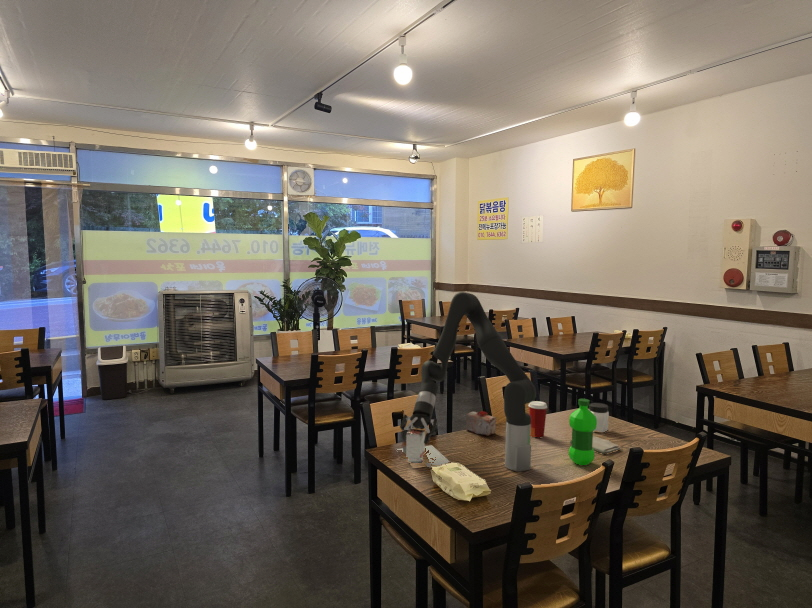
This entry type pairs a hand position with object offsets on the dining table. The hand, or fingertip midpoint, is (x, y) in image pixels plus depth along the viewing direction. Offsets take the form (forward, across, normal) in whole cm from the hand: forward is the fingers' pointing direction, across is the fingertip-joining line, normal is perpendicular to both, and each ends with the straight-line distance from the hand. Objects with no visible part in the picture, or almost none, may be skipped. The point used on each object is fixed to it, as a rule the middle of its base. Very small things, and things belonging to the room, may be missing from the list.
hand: (414, 442), depth 204 cm
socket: (+3, 0, +5) cm, 6 cm away
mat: (+1, +1, +11) cm, 11 cm away
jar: (-44, +66, +56) cm, 97 cm away
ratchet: (+3, -2, +9) cm, 9 cm away
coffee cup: (-30, +40, +42) cm, 65 cm away
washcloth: (-26, +65, +39) cm, 80 cm away
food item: (-27, +16, +39) cm, 50 cm away
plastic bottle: (-12, +60, +24) cm, 66 cm away
